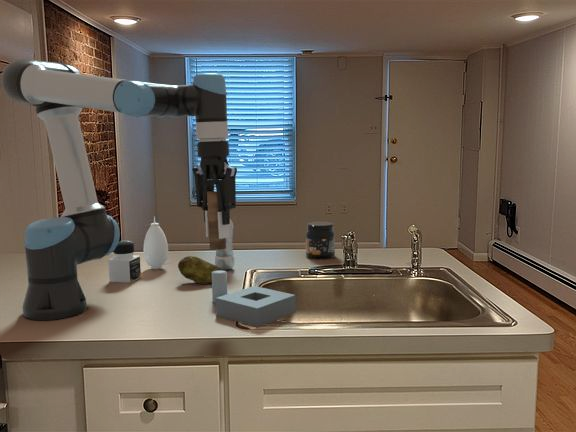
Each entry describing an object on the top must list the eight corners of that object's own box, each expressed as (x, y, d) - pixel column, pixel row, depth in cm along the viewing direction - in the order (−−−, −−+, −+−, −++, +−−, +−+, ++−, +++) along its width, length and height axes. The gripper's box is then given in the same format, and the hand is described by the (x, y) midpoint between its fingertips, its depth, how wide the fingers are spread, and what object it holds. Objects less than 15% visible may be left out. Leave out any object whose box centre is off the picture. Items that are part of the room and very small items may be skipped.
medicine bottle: (130, 283, 176) (128, 244, 174) (109, 282, 177) (106, 243, 176) (141, 277, 183) (139, 239, 181) (120, 276, 184) (118, 239, 182)
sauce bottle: (160, 272, 189) (158, 217, 186) (140, 270, 192) (137, 216, 189) (173, 267, 196) (170, 214, 194) (152, 265, 199) (150, 213, 196)
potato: (215, 287, 170) (214, 260, 169) (175, 284, 174) (174, 258, 173) (225, 280, 178) (225, 254, 177) (187, 277, 182) (186, 252, 180)
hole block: (257, 327, 135) (257, 308, 135) (216, 315, 144) (215, 297, 144) (295, 312, 146) (295, 294, 145) (254, 302, 155) (254, 285, 154)
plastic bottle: (218, 272, 187) (216, 211, 185) (212, 268, 194) (210, 208, 191) (237, 270, 190) (236, 210, 187) (231, 266, 196) (229, 207, 193)
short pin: (219, 304, 153) (218, 274, 152) (209, 301, 156) (208, 272, 155) (230, 301, 156) (229, 271, 155) (220, 298, 159) (219, 269, 158)
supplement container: (299, 256, 210) (299, 223, 209) (320, 252, 217) (319, 220, 216) (320, 261, 203) (320, 227, 201) (341, 256, 210) (341, 223, 208)
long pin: (217, 250, 140) (214, 192, 138) (206, 248, 143) (203, 191, 141) (229, 247, 143) (226, 190, 141) (218, 246, 146) (215, 190, 144)
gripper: (249, 139, 137) (253, 237, 140) (201, 140, 148) (206, 232, 151) (225, 140, 131) (230, 242, 134) (177, 141, 142) (183, 236, 145)
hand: (217, 236), depth 142 cm, fingers closed on long pin, 4 cm apart
